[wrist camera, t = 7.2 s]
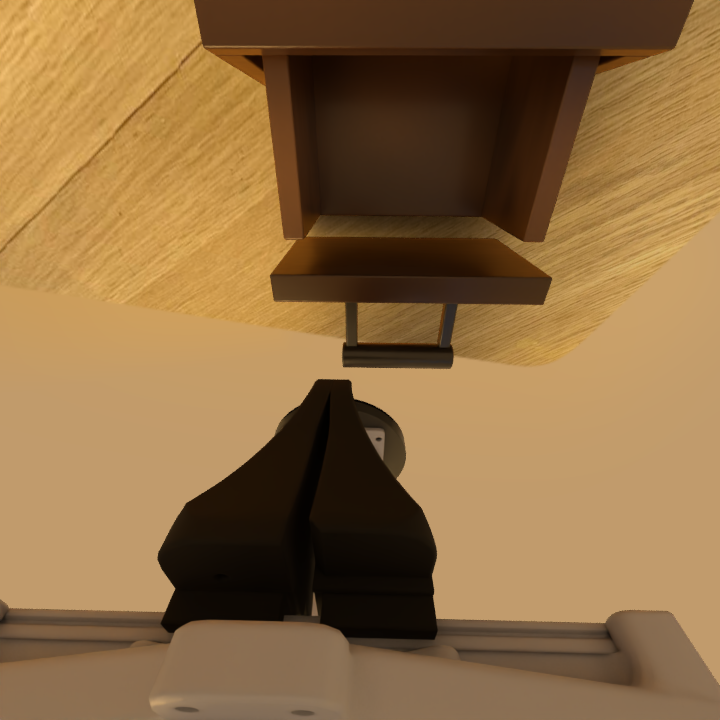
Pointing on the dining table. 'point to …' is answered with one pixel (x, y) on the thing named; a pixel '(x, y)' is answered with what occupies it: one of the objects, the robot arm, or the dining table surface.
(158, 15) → the dining table surface
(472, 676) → the robot arm
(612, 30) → the brown drawer cabinet
